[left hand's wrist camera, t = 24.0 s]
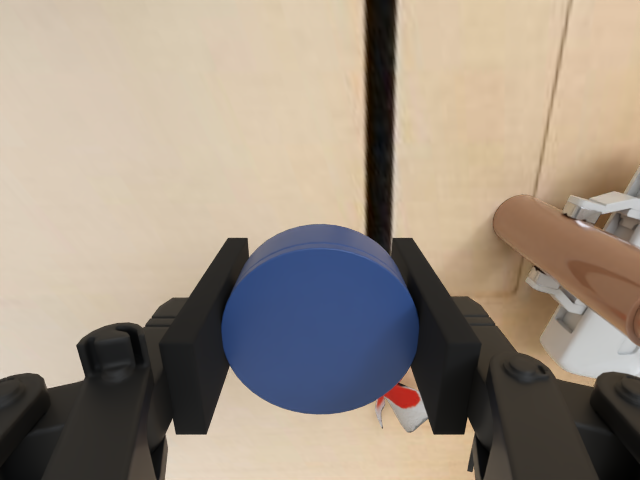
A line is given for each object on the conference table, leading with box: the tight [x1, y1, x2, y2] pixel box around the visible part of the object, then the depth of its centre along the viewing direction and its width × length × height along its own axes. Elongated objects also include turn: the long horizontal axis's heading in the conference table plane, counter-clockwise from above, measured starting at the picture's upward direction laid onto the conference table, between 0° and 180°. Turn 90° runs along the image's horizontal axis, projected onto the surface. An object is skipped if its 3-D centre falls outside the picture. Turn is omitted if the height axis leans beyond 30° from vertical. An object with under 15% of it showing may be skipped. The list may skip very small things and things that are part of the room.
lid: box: [221, 224, 419, 414], centre depth 11 cm, size 6×6×2 cm
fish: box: [375, 379, 428, 432], centre depth 36 cm, size 11×16×10 cm
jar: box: [493, 195, 640, 347], centre depth 26 cm, size 5×5×18 cm
